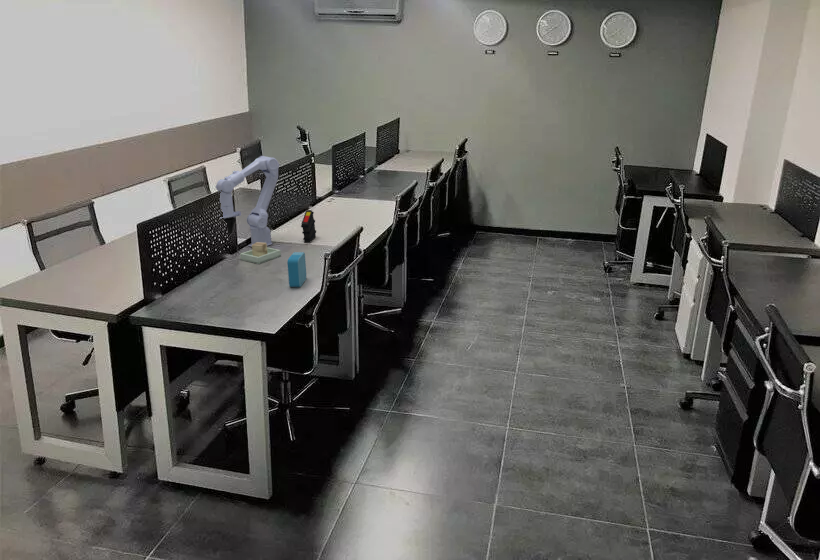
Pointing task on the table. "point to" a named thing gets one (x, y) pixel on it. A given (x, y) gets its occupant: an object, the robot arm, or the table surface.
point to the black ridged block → (308, 226)
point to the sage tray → (258, 260)
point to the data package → (296, 269)
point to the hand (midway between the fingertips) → (229, 233)
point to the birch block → (259, 249)
